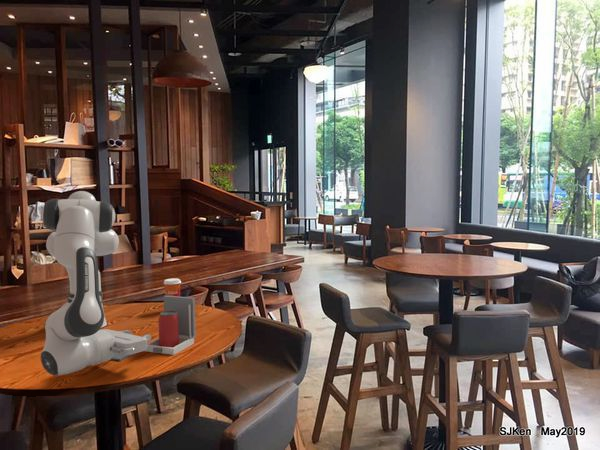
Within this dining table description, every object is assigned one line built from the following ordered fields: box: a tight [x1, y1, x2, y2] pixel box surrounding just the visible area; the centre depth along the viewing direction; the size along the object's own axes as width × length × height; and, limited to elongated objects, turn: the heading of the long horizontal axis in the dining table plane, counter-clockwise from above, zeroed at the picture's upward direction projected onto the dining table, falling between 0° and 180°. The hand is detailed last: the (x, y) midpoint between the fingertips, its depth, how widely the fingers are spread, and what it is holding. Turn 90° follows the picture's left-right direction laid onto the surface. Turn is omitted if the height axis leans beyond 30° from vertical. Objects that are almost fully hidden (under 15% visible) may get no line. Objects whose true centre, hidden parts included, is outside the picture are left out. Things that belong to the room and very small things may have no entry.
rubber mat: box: [109, 353, 137, 362], centre depth 156 cm, size 12×12×1 cm
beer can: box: [157, 310, 180, 348], centre depth 160 cm, size 7×7×12 cm
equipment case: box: [144, 295, 197, 356], centre depth 160 cm, size 12×14×16 cm
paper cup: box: [163, 278, 182, 297], centre depth 210 cm, size 8×8×14 cm
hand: (139, 334), depth 150 cm, fingers open, 8 cm apart
